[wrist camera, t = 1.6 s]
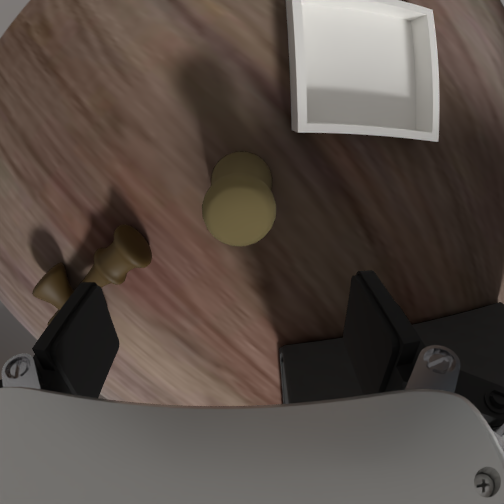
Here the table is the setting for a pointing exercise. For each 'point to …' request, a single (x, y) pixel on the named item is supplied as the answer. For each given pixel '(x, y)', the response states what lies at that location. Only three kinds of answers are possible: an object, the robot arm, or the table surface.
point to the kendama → (98, 267)
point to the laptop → (431, 333)
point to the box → (363, 68)
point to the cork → (239, 200)
